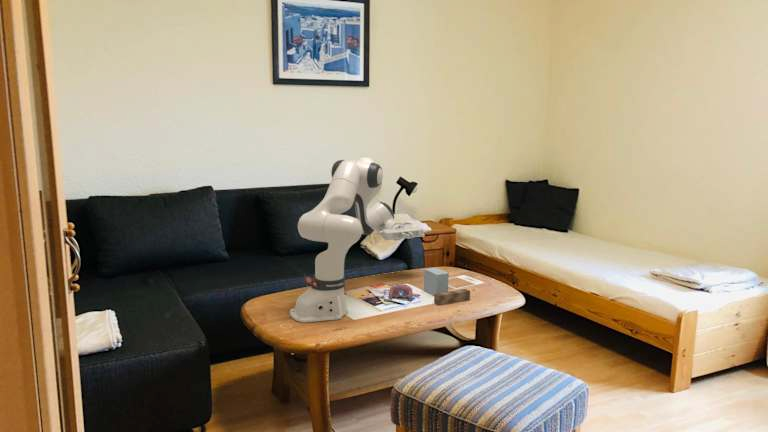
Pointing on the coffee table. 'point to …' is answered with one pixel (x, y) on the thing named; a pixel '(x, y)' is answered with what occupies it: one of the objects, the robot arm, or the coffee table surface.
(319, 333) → the coffee table surface
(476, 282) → the photo frame
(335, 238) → the robot arm
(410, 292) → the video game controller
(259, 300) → the coffee table surface
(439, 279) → the block
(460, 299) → the board
